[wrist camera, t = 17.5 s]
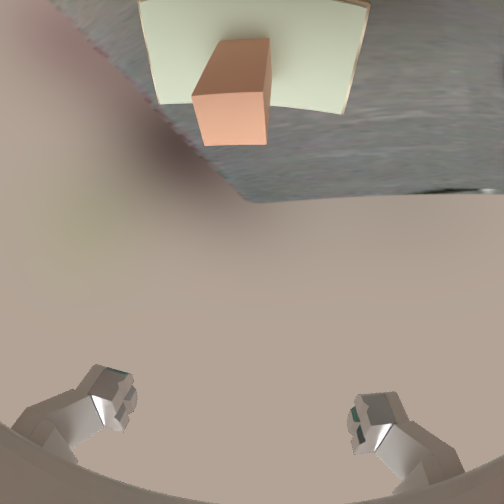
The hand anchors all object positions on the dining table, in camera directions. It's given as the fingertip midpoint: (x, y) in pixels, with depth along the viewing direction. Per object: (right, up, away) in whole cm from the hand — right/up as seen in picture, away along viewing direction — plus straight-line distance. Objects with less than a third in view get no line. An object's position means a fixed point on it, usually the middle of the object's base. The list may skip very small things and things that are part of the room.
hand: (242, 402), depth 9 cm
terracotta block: (0, +21, +11) cm, 24 cm away
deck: (0, +25, +12) cm, 27 cm away
